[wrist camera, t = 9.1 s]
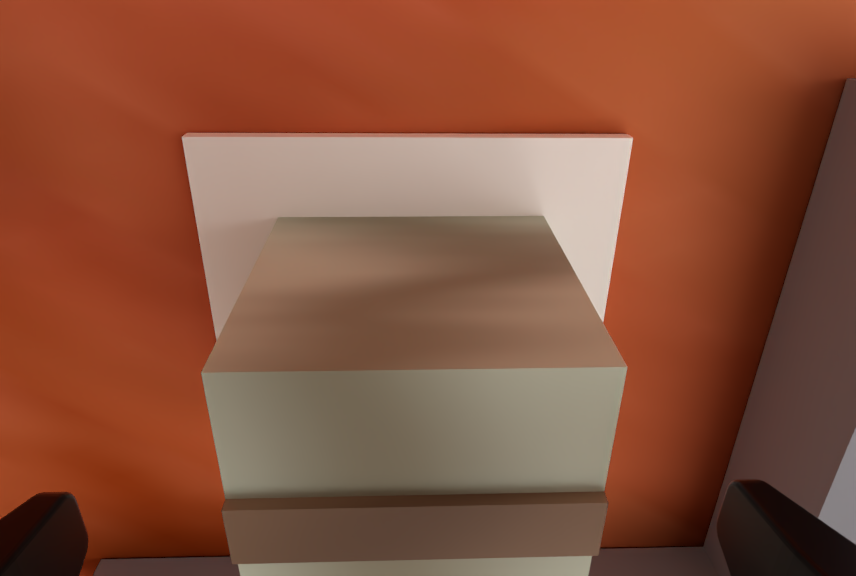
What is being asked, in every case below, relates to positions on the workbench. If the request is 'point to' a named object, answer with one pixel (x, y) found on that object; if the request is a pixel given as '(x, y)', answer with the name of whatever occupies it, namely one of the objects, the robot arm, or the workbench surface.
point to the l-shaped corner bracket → (592, 262)
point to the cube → (413, 402)
